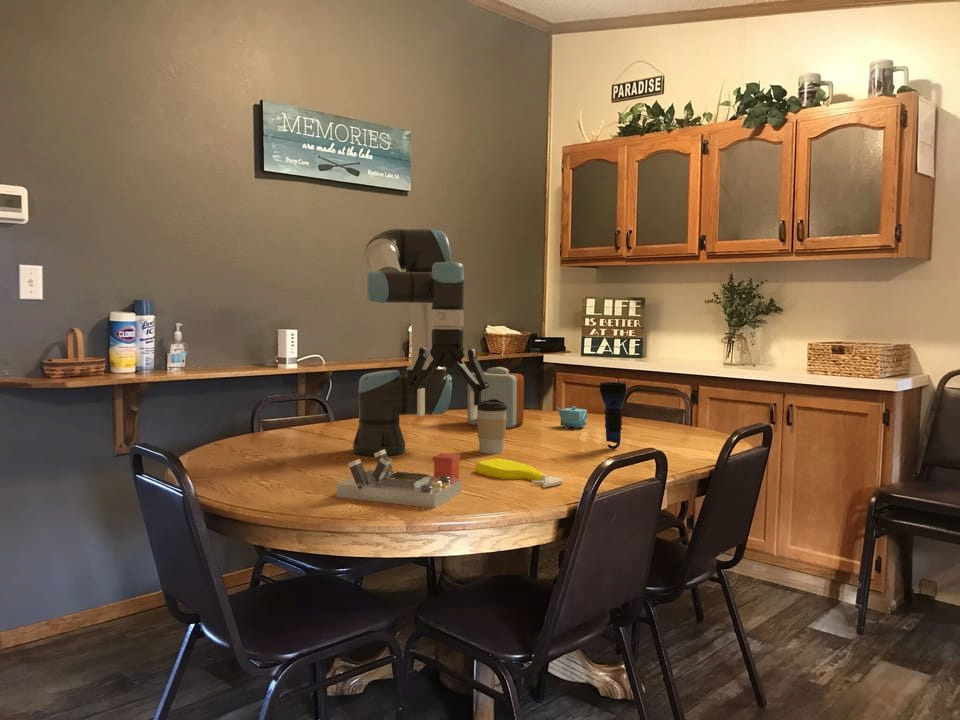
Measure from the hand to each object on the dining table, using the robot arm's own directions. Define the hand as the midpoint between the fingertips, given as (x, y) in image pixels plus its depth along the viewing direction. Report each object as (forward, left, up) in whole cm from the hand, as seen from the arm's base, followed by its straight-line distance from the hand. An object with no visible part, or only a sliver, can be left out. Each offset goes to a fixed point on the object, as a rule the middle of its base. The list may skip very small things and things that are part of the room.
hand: (447, 417), depth 186 cm
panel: (-6, -13, -16) cm, 22 cm away
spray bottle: (+14, +14, -17) cm, 26 cm away
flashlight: (+28, +61, -16) cm, 69 cm away
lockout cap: (0, 0, -16) cm, 16 cm away
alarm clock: (-19, +89, -16) cm, 93 cm away
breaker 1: (-12, -19, -13) cm, 26 cm away
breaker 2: (-12, -7, -13) cm, 19 cm away
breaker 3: (-12, -13, -13) cm, 22 cm away
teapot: (+7, +95, -16) cm, 97 cm away
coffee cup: (-4, +43, -16) cm, 46 cm away
